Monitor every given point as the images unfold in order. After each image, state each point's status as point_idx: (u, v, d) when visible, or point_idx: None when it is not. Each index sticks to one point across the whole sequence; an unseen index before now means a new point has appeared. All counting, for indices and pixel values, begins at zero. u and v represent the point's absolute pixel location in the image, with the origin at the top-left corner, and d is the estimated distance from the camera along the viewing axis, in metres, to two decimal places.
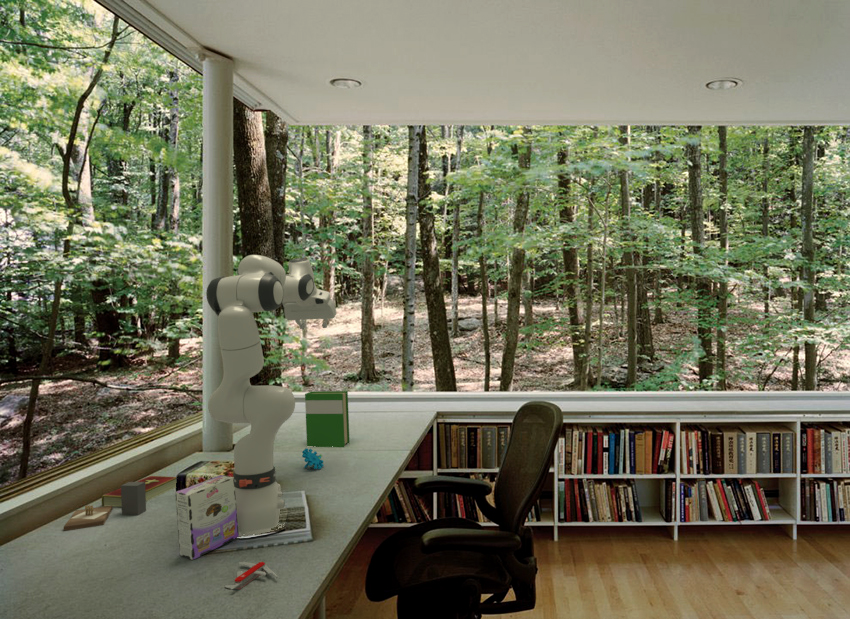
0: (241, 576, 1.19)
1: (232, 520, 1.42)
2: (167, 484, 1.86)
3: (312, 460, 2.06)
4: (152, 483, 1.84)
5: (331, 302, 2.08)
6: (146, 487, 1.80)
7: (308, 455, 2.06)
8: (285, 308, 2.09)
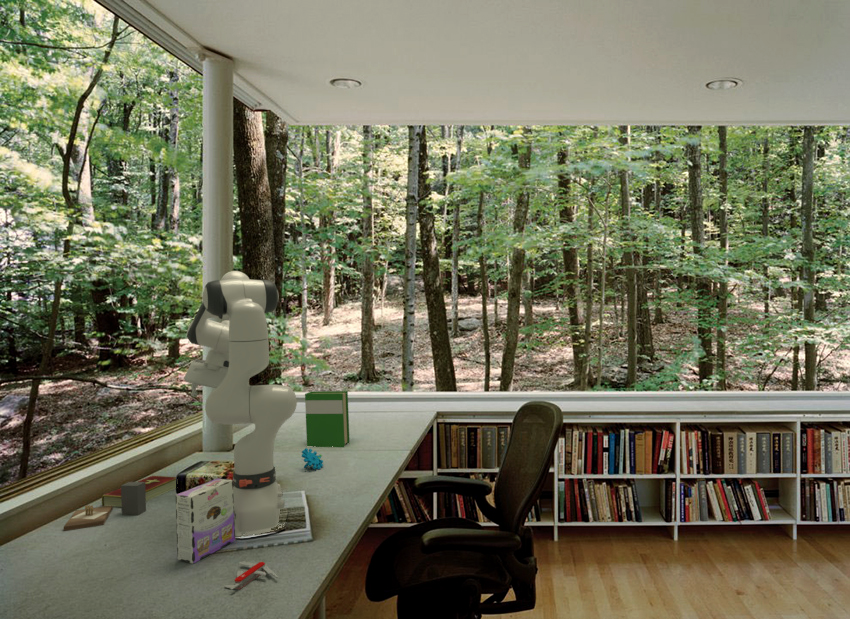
0: (241, 576, 1.19)
1: (230, 523, 1.41)
2: (168, 484, 1.86)
3: (311, 460, 2.06)
4: (153, 483, 1.84)
5: None
6: (146, 487, 1.80)
7: (308, 455, 2.06)
8: (190, 367, 2.00)
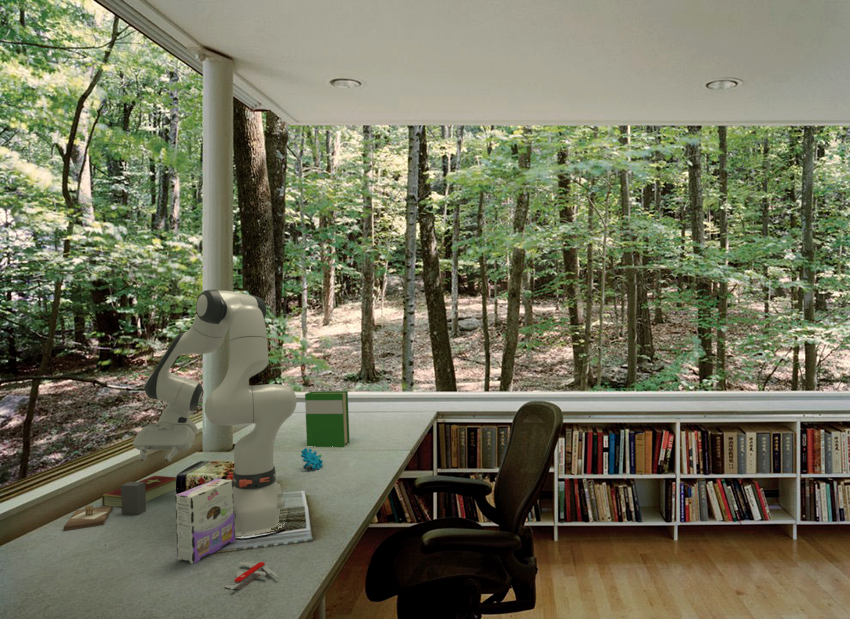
0: (241, 576, 1.19)
1: (230, 523, 1.41)
2: (168, 485, 1.86)
3: (311, 460, 2.06)
4: (153, 483, 1.84)
5: (193, 432, 1.83)
6: (146, 487, 1.80)
7: (307, 455, 2.07)
8: (141, 430, 1.84)
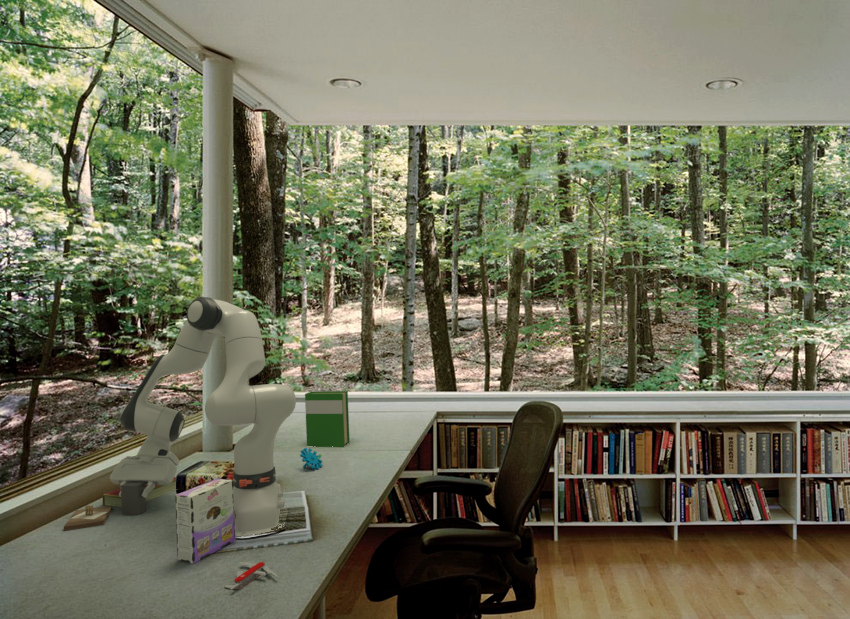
0: (241, 576, 1.19)
1: (230, 523, 1.41)
2: (169, 485, 1.85)
3: (310, 460, 2.06)
4: None
5: (174, 465, 1.72)
6: None
7: (306, 455, 2.07)
8: (119, 464, 1.73)
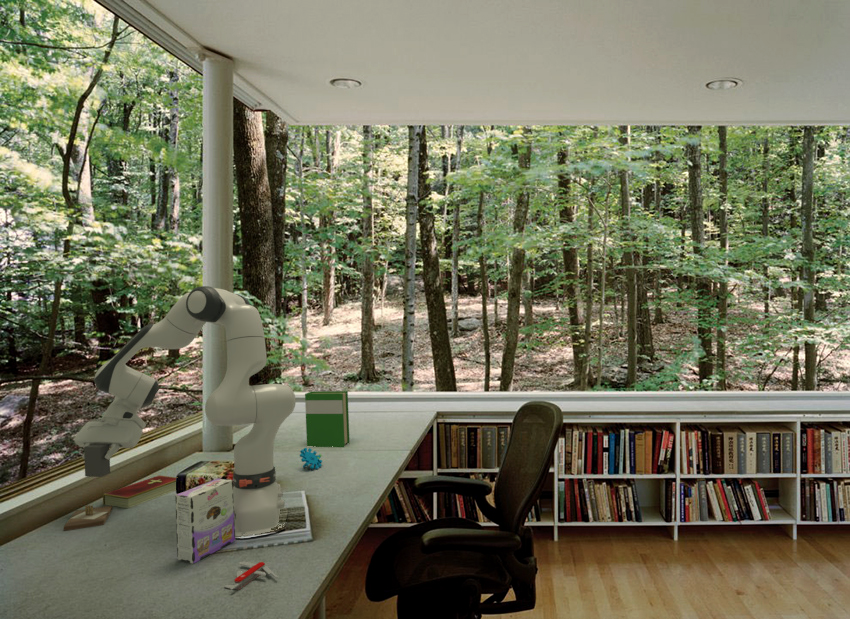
0: (241, 576, 1.19)
1: (230, 523, 1.41)
2: (169, 485, 1.85)
3: (309, 460, 2.06)
4: (155, 483, 1.84)
5: (139, 428, 1.69)
6: (147, 487, 1.80)
7: (306, 455, 2.07)
8: (84, 426, 1.71)
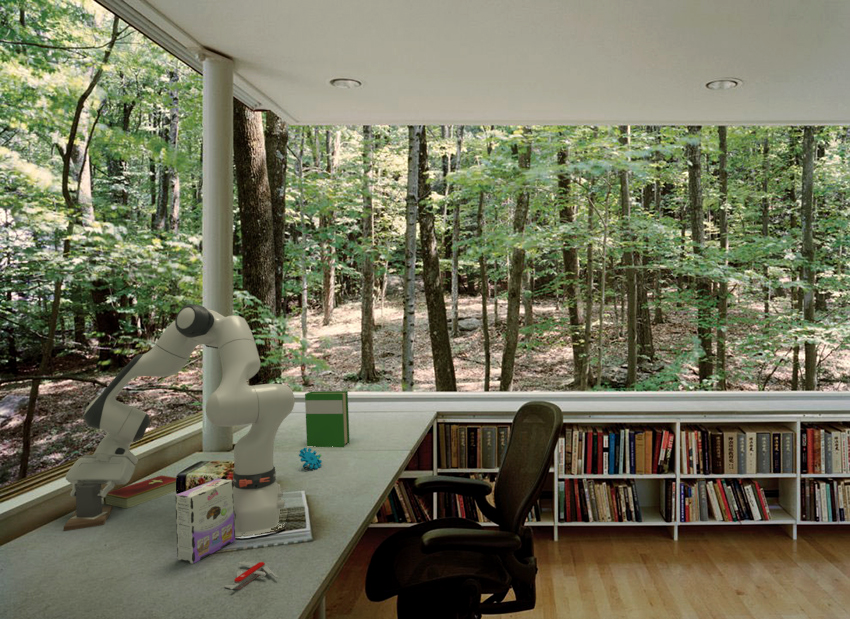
0: (241, 576, 1.19)
1: (230, 523, 1.41)
2: (170, 485, 1.85)
3: (309, 460, 2.06)
4: (155, 484, 1.84)
5: (132, 464, 1.68)
6: (147, 488, 1.79)
7: (305, 454, 2.07)
8: (75, 462, 1.69)
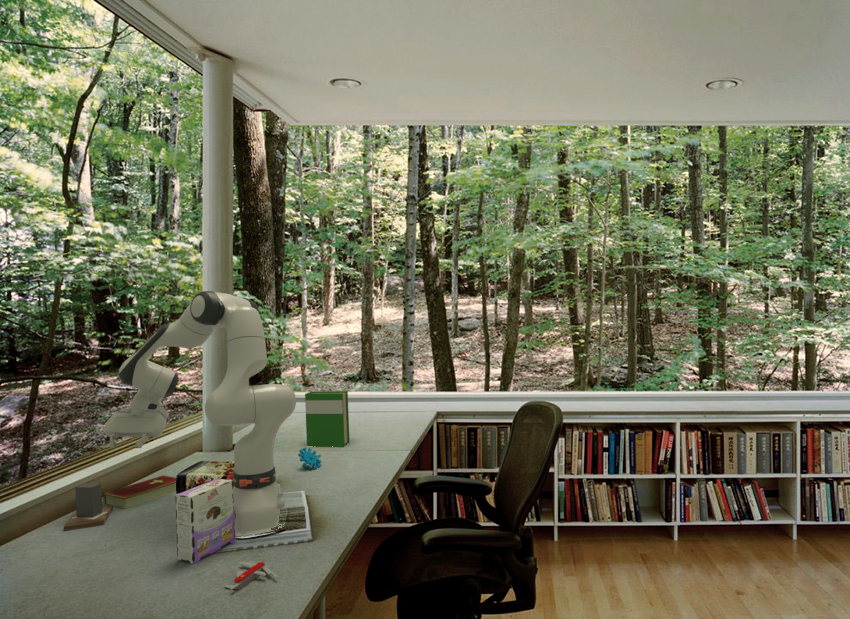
0: (241, 576, 1.19)
1: (230, 523, 1.41)
2: (170, 486, 1.84)
3: (308, 460, 2.06)
4: (156, 484, 1.83)
5: (164, 418, 1.82)
6: (147, 488, 1.79)
7: (305, 454, 2.08)
8: (111, 417, 1.82)
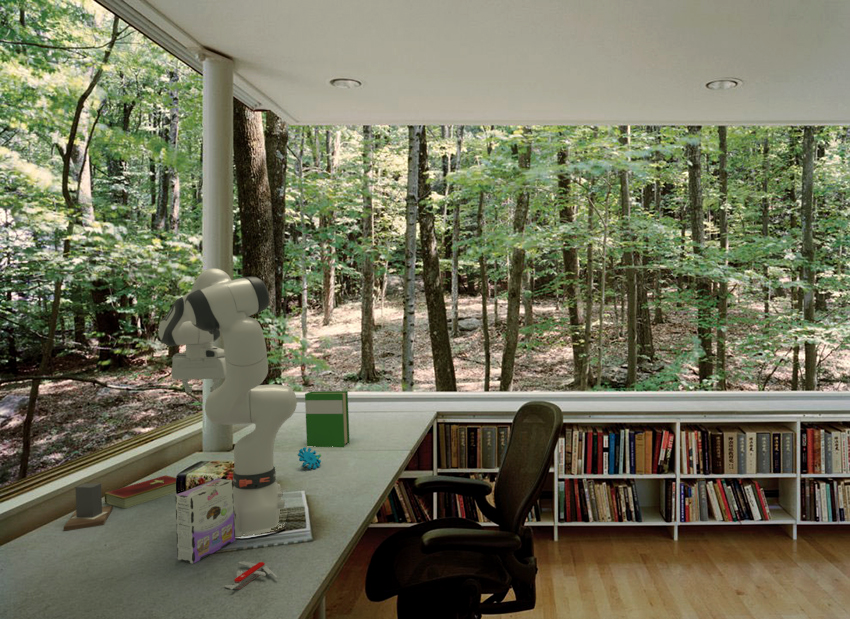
0: (241, 576, 1.19)
1: (230, 523, 1.41)
2: (171, 486, 1.84)
3: (307, 459, 2.07)
4: (156, 484, 1.83)
5: (225, 360, 1.85)
6: (147, 488, 1.79)
7: (304, 454, 2.08)
8: (173, 363, 1.86)
